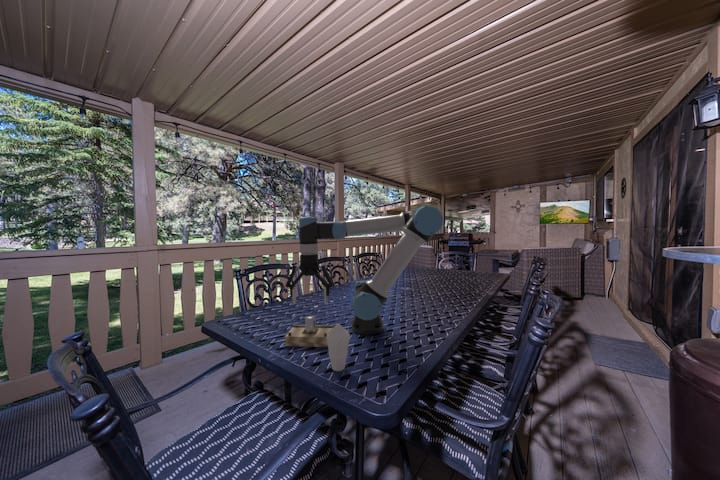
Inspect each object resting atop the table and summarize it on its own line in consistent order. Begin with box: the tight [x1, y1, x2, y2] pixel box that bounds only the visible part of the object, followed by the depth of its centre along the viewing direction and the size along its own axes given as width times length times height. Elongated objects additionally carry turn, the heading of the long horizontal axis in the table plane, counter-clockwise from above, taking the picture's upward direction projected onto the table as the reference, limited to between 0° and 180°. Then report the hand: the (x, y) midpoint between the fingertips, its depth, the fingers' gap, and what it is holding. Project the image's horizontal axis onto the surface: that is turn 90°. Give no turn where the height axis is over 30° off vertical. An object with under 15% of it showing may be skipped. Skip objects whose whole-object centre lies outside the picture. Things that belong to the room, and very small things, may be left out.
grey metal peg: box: [304, 315, 317, 334], centre depth 116 cm, size 4×4×10 cm
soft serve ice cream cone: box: [326, 322, 351, 372], centre depth 93 cm, size 8×8×16 cm
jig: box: [284, 323, 334, 348], centre depth 116 cm, size 18×12×5 cm, turn 86°
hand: (310, 303), depth 115 cm, fingers open, 13 cm apart
